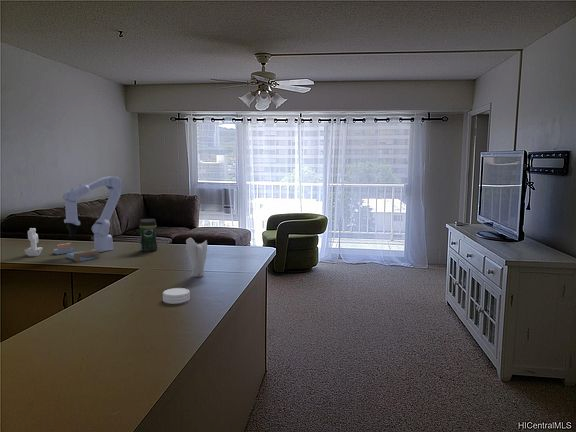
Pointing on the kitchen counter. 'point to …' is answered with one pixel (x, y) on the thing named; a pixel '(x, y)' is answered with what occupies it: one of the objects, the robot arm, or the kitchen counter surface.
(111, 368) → the kitchen counter surface
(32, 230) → the figurine
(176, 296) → the coaster
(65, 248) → the slab with raised block
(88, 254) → the striped blue tabbed panel
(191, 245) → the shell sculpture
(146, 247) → the coffee jar
